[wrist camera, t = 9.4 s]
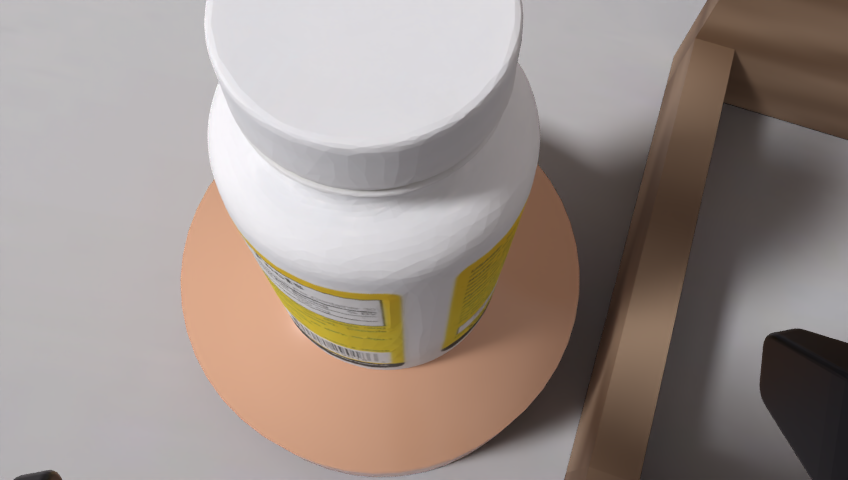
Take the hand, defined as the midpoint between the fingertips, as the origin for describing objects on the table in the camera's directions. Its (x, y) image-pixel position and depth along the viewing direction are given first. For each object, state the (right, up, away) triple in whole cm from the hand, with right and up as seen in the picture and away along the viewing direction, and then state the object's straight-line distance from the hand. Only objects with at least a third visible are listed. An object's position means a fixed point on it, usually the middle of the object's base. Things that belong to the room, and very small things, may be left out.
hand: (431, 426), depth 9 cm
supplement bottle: (-1, +2, +9) cm, 9 cm away
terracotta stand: (-1, +1, +12) cm, 12 cm away
